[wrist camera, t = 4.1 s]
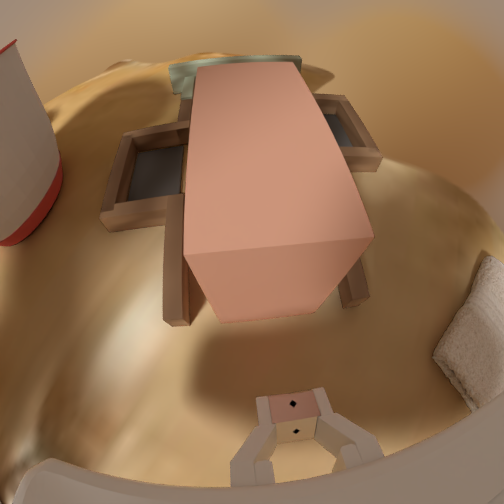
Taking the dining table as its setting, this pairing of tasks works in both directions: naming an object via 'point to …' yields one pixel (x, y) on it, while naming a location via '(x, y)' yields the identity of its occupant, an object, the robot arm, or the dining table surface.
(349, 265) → the terracotta block
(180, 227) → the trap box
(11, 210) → the citrus juicer
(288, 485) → the robot arm
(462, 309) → the washcloth
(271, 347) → the dining table surface
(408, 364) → the dining table surface
